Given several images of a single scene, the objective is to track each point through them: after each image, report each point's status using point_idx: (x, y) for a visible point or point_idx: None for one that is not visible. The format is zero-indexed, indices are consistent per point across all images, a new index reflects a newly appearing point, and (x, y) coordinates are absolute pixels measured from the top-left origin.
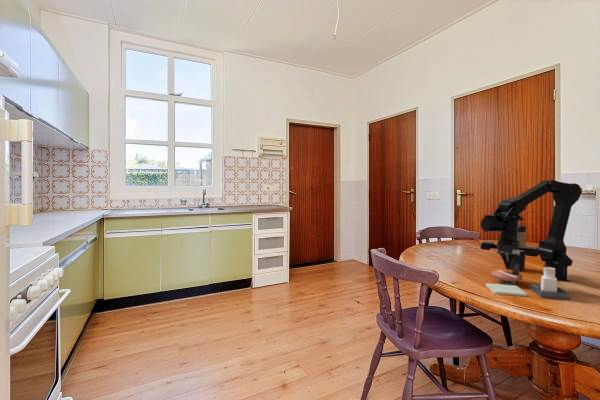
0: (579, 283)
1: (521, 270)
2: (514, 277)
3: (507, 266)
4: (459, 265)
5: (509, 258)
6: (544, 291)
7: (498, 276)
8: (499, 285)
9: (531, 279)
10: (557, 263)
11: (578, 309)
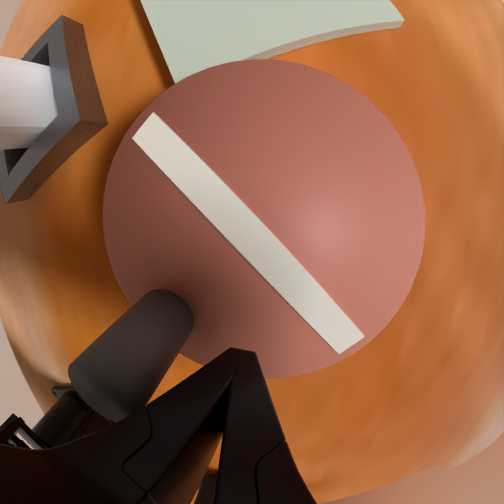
0: (35, 372)
1: (210, 475)
2: (160, 112)
3: (233, 370)
4: (483, 422)
5: (134, 477)
6: (47, 36)
7: (338, 84)
8: (304, 9)
9: None
10: (32, 440)
11: (23, 24)
